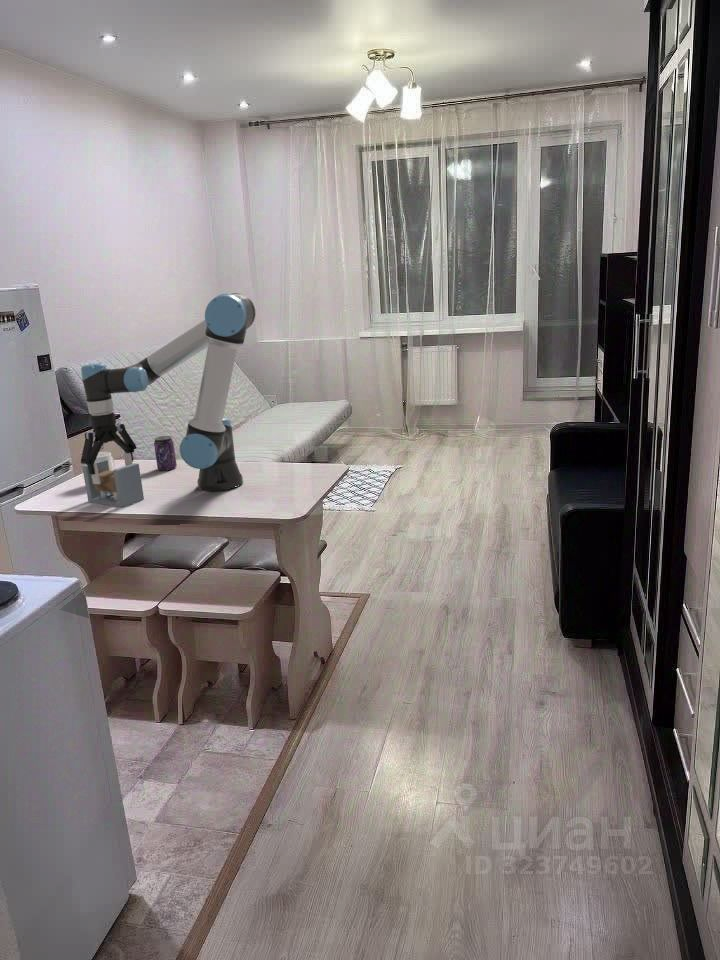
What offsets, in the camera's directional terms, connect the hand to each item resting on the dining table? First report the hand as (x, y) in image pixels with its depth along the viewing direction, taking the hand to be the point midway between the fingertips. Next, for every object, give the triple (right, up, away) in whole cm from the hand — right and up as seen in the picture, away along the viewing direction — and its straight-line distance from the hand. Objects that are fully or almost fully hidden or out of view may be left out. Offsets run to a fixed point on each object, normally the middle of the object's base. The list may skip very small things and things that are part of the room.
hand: (114, 477), depth 232 cm
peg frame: (0, -7, +2) cm, 8 cm away
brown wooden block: (-1, -3, +1) cm, 4 cm away
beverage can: (+7, +3, +39) cm, 39 cm away
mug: (-11, -2, +25) cm, 28 cm away
